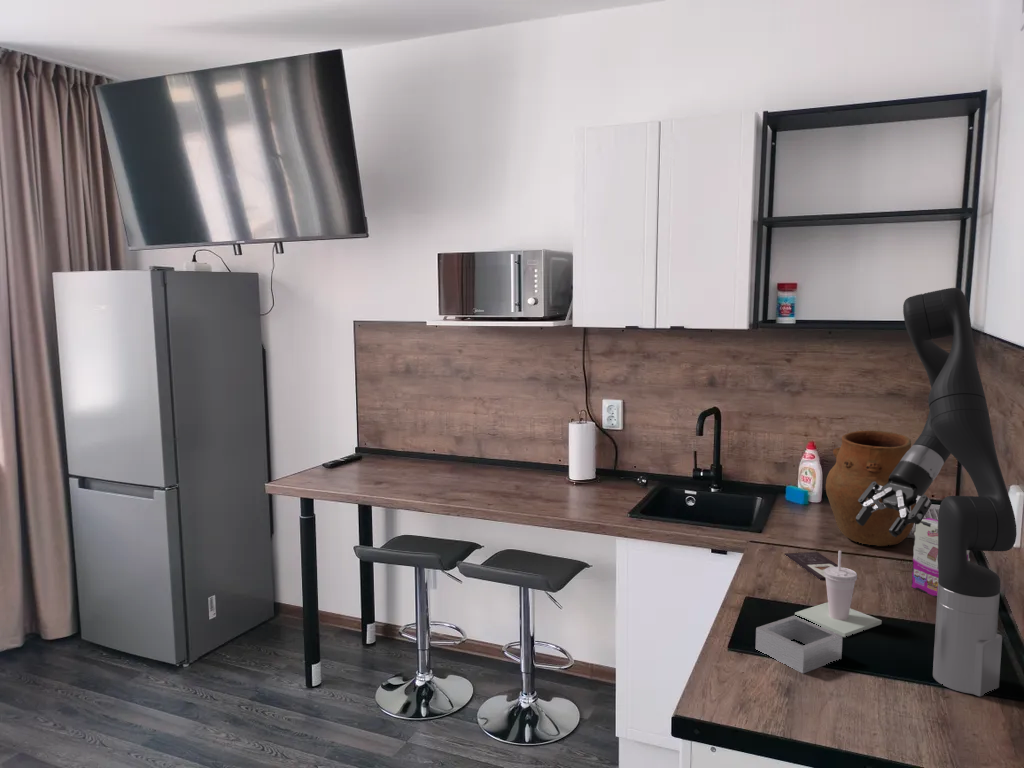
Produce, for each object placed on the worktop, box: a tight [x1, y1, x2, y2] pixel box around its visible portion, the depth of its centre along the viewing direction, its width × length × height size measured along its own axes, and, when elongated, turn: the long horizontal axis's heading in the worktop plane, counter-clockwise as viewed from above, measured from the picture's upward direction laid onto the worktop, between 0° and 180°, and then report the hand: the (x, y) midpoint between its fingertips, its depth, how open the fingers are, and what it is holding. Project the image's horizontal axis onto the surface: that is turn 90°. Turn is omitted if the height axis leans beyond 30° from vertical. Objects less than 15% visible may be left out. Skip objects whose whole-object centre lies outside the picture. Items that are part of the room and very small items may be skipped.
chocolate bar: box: [784, 551, 838, 581], centre depth 193 cm, size 9×1×18 cm
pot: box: [825, 430, 916, 547], centre depth 211 cm, size 24×24×30 cm
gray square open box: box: [755, 615, 843, 674], centre depth 145 cm, size 11×11×4 cm
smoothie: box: [824, 550, 858, 620], centre depth 160 cm, size 6×6×14 cm
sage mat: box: [794, 601, 882, 638], centre depth 161 cm, size 12×12×1 cm
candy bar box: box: [911, 517, 972, 598], centre depth 173 cm, size 11×5×16 cm, turn 21°
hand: (875, 528), depth 162 cm, fingers open, 8 cm apart
